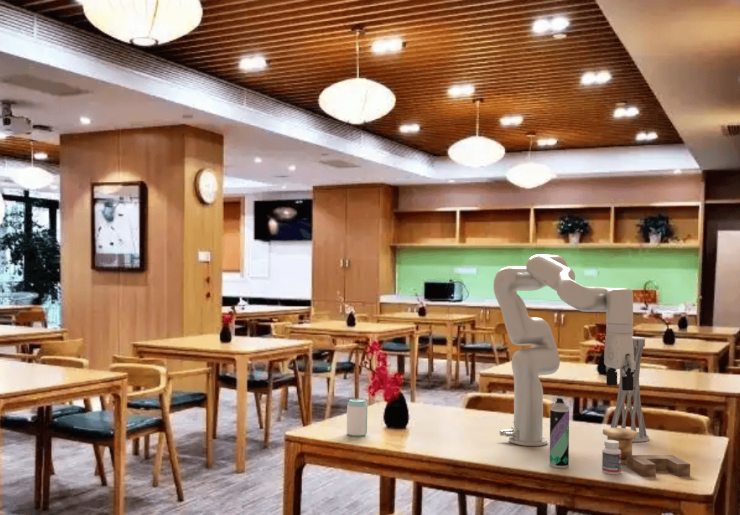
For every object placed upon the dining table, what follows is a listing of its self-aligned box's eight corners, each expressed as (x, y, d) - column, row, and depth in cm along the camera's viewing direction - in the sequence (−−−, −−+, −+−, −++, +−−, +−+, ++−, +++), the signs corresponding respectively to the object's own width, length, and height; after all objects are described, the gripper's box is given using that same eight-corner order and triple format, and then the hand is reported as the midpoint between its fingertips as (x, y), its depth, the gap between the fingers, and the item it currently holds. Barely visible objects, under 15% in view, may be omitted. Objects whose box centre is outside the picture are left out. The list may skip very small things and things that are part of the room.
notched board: (643, 476, 200) (643, 464, 200) (626, 467, 210) (626, 455, 210) (690, 476, 201) (690, 464, 201) (671, 466, 211) (671, 454, 211)
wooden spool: (610, 465, 212) (611, 435, 212) (597, 456, 221) (597, 427, 222) (642, 465, 212) (643, 435, 213) (627, 456, 222) (628, 427, 223)
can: (343, 435, 243) (344, 400, 244) (351, 431, 250) (352, 397, 250) (362, 437, 241) (362, 402, 241) (370, 433, 247) (370, 399, 248)
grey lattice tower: (629, 442, 239) (631, 339, 240) (599, 434, 251) (601, 335, 252) (657, 439, 246) (659, 338, 247) (626, 431, 258) (629, 335, 258)
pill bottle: (622, 475, 201) (622, 444, 201) (603, 474, 202) (603, 442, 202) (619, 470, 206) (619, 439, 207) (600, 469, 207) (601, 438, 208)
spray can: (546, 463, 212) (547, 396, 213) (564, 463, 213) (565, 396, 213) (553, 468, 207) (554, 399, 207) (571, 468, 207) (572, 399, 208)
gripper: (594, 327, 218) (594, 383, 217) (621, 331, 201) (621, 392, 200) (617, 327, 219) (617, 383, 218) (646, 331, 202) (646, 392, 201)
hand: (619, 387), depth 209 cm, fingers open, 9 cm apart
